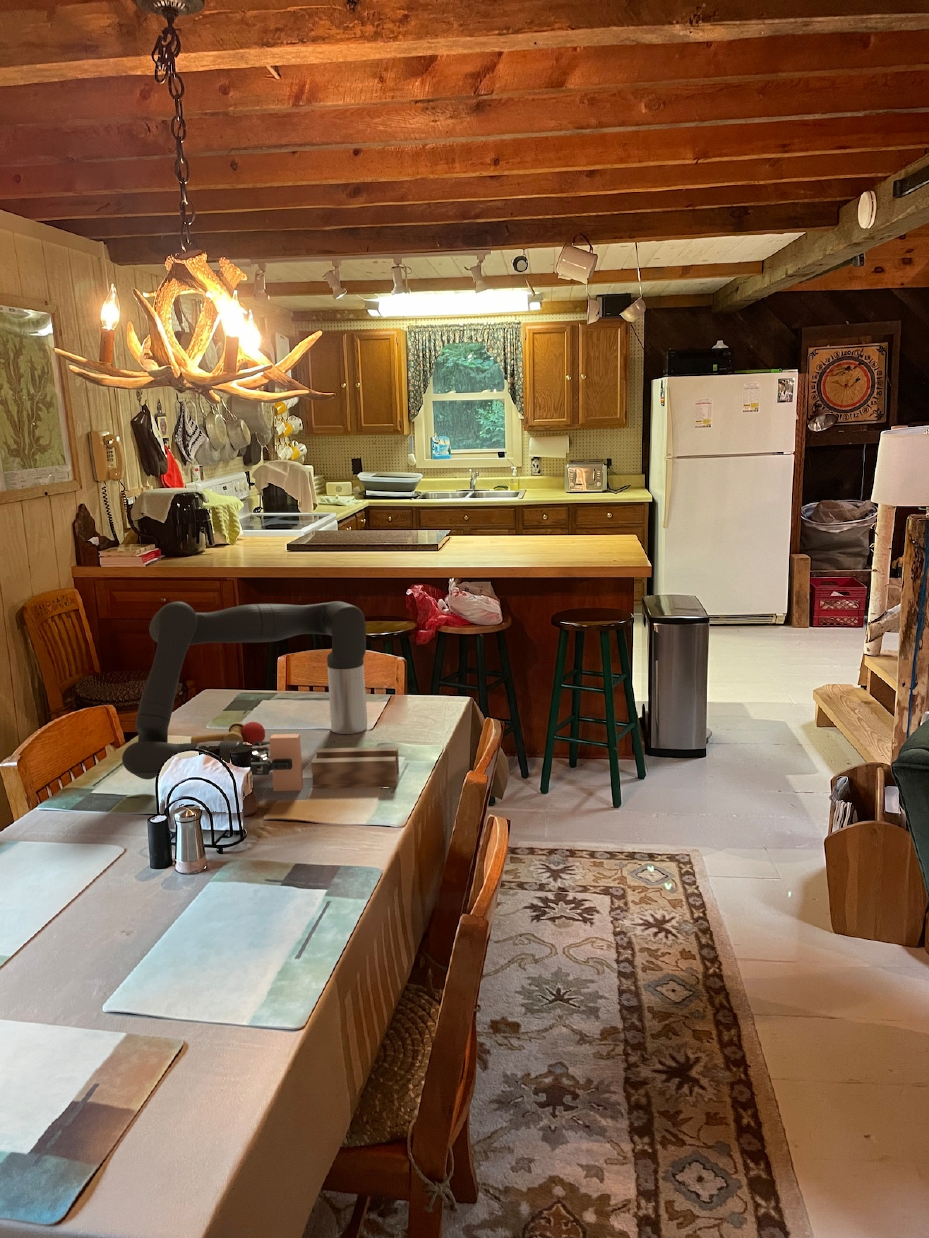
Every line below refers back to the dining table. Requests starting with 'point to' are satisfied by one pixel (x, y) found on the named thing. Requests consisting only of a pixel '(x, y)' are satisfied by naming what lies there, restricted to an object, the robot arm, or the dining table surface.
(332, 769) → the rack
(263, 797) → the mat
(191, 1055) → the dining table surface
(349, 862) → the dining table surface
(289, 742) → the block
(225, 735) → the kendama
